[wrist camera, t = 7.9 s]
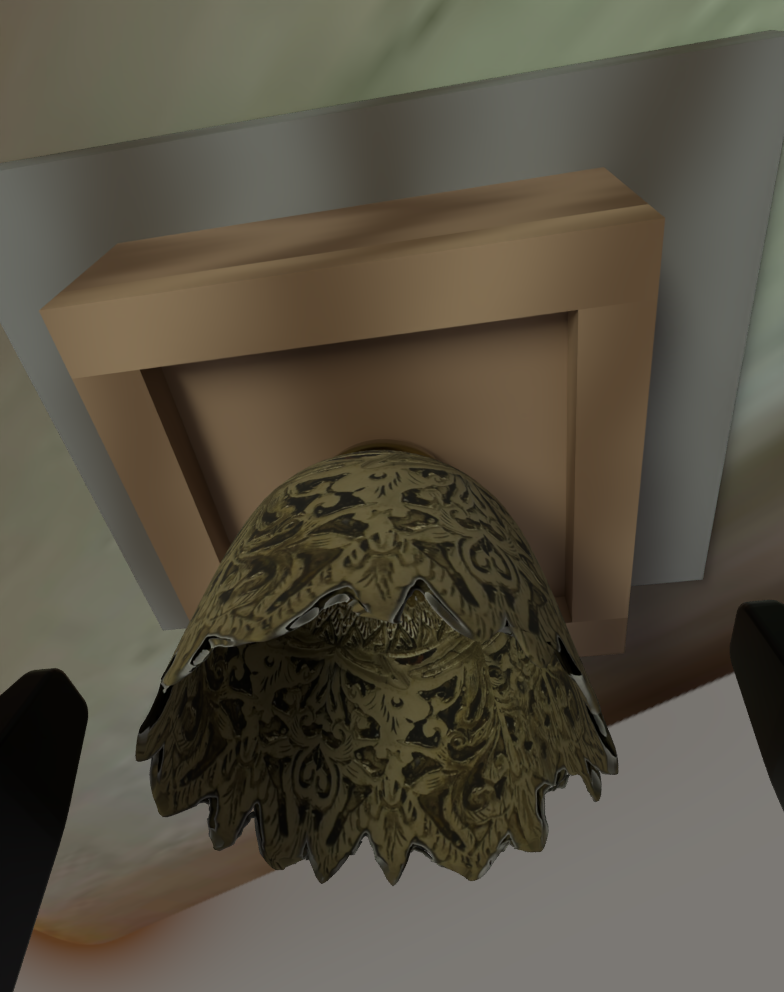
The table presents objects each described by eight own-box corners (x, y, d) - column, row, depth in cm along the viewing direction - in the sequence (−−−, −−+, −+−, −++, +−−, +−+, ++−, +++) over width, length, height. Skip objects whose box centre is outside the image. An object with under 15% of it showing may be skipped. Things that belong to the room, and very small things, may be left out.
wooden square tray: (770, 30, 15) (942, 44, 10) (688, 551, 25) (757, 685, 20) (-40, 170, 17) (-214, 237, 12) (173, 601, 26) (123, 734, 22)
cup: (438, 623, 20) (455, 922, 13) (200, 535, 18) (87, 836, 11) (594, 436, 16) (725, 734, 9) (309, 294, 14) (229, 549, 7)
